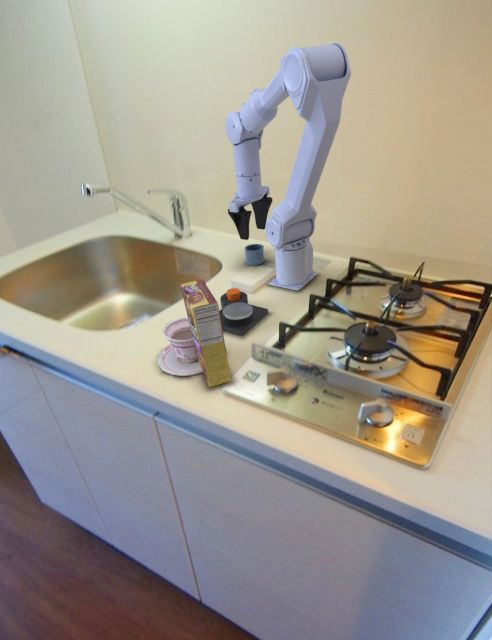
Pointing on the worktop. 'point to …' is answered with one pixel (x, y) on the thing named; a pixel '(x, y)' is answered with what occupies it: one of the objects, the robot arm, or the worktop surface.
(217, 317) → the candy box
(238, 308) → the grey round disc
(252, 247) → the blue cup
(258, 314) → the scale
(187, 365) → the teacup
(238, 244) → the worktop surface
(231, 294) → the tare button
